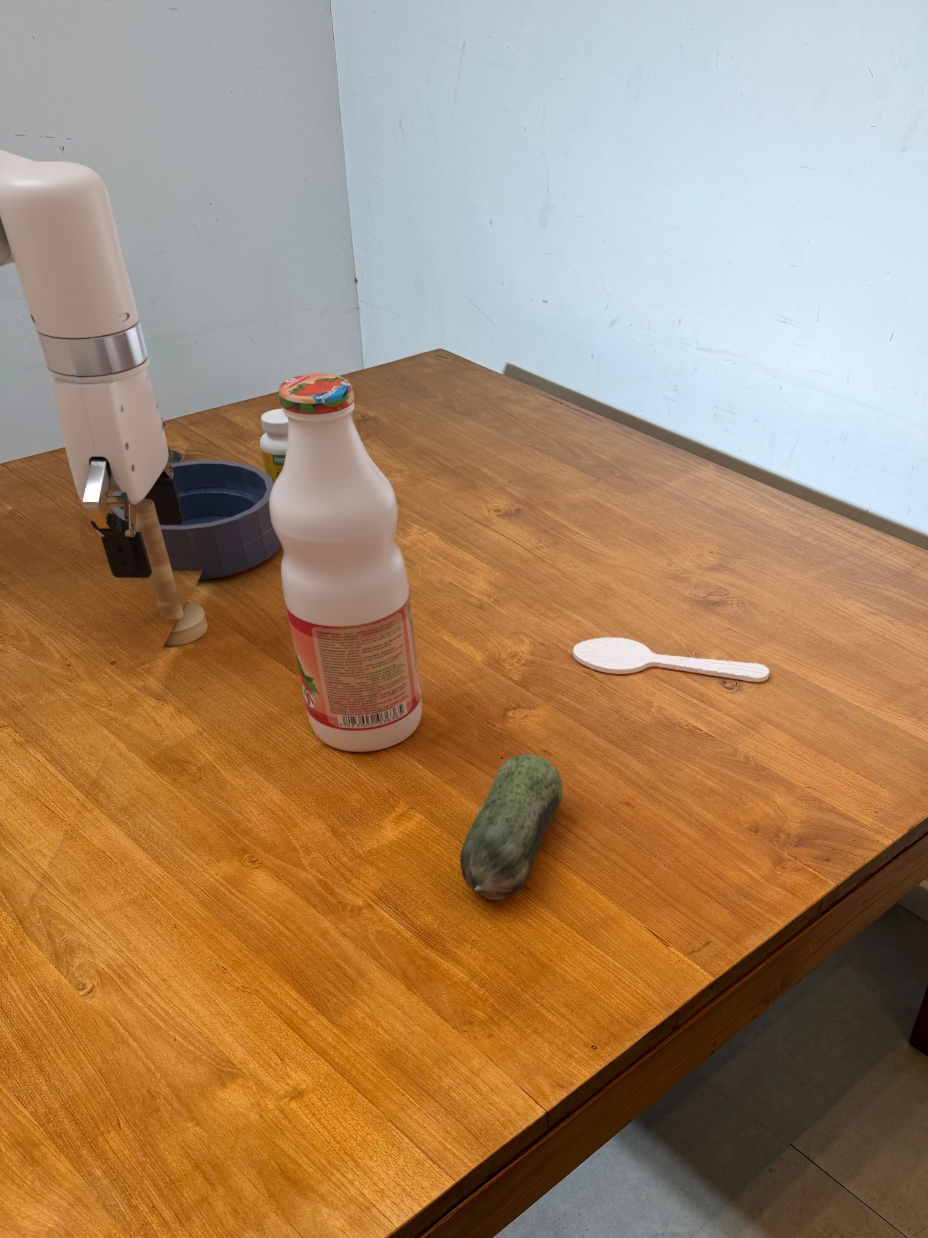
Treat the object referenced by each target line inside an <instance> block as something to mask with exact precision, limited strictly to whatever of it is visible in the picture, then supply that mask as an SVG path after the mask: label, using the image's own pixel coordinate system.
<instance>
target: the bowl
mask: <svg viewBox="0 0 928 1238" xmlns="http://www.w3.org/2000/svg"><path fill="white" fill-rule="evenodd" d="M170 465H171V466H172V468H173V478H172V479H168V480H174V482H175V486H176V490H177V494H178V498H179V502H180V506H181V510H182V514H183V518H184V520H183V522H182V523H181V524H179V525H175V524H160V527H161V531H162V535H163V539H164V542H165V546H166V550H167V553H168V557H169V561H170V565H171V568H172V571H202V572H201V574H200V576H199V578H198V581H200V580H211V579H219V578H222V577H228V576H231V575H234V574H237V573H240V572H241V573H242V572H244V571H248V570H250V569H251V568H254V567H256V566H258V565H259V564H261V563H263V562H265V561H268V560H269V559H270V558H271V557H272V556H273V555H274V554H276V552H278V551H279V550H280V548H281V546H282V544H281V543H280V541H279V539H278V537H277V535H276V533H275V530H274V528H273V525H272V522H271V517H270V510H269V499H270V494H271V490H272V488H273V485H274V483H273V479H272V478H271V477H270V476H268V475H267V474H266V473H265V470H262V469H260V468H257V467H255V466H252V465H249V464H246V463H242V462H235V461H229V460H216V459H215V460H211V459H207V460H206V459H201V460H200V459H199V460H191V461H184V462H181V463H174V464H170ZM111 496H125V492H121V491H113V493H112V495H111ZM110 510H111V513H115V514H116V515H117V516H119V517H120V518H121V519H122V520H123V507H112V506H110Z"/></svg>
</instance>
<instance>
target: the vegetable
mask: <svg viewBox="0 0 928 1238" xmlns="http://www.w3.org/2000/svg"><path fill="white" fill-rule="evenodd" d="M494 777H495V778H494V779H493V782H492V785H491V787H490V790H489V792H488V794H487V796H485V797H486V798H485V800H484V801H483V803H482V805H481V807H480V809H479V811H478V813H477V814H476V817H475V819H474V820H473V822H472V824H471V826H470V828H469V830H468V832H467V834H466V836H465V839H464V842H463V845H462V847H461V850H460V851H461V852H460V859H459V860H460V861H459V862H460V863H459V864H460V871H461V875H462V877H463V880H464V881H465V883H466V884H467V886H469V888H471V890H473V891H474V892H475V893H477V894H478V895H479V896H481V897H482V898H485V899H489V900H493V901H494V900H495V901H497V900H499V901H500V900H503V899H506V898H509V897H511V896H513V895H514V894H517V893H518V891H519V890H520V889H521V888H522V887H523V886H524V884H525V882H526V880H527V878H528V876H529V873H530V870H531V868H532V865H533V864H534V862H535V858H536V856H537V853H538V851H539V849H540V846H541V844H542V841H543V839H544V837H545V834H546V832H547V831H548V828H549V825H550V823H551V821H552V819H553V817H554V815H555V813H556V812H557V810H558V808H559V806H560V805H561V802H562V799H563V795H564V788H563V787H564V786H563V781H562V777H561V775H560V773H559V771H558V769H557V768H556V767H555V765H554V764H553V763H552V762H551V761H549V760H548V759H546V758H545V757H543V756H541V755H537V754H532V753H526V754H518V755H515V756H512V757H510V758H509V759H507V760H505V761H504V762H503V763H502V764H501V765H500V767H499V768H498V770H497V772H496V775H495V776H494Z"/></svg>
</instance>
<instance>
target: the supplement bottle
mask: <svg viewBox="0 0 928 1238" xmlns="http://www.w3.org/2000/svg"><path fill="white" fill-rule="evenodd" d="M260 420H261V428H262V430H263V431H264V434H262V435H261V438H260V440H259V447H260V448H259V449H260V453H261V458H262V461H263V467H264V472H265V473H266V474H267V475H268V476H270V477H271V478H272V479H273V483H275V481H276V479H277V478H278V476H279V475H280V473H281V471H282V469H283V466H284V462H285V457H286V450H287V443H288V430H289V424H288V417H287V416H285V414H284V413H283V411H282V408H277V409H272V410H268V411H266V412H264V413H263V414H262V415H261V416H260Z"/></svg>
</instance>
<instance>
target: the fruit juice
mask: <svg viewBox="0 0 928 1238" xmlns="http://www.w3.org/2000/svg"><path fill="white" fill-rule="evenodd" d="M350 382H351V381H349V380H348V379H347V378H345V377H343V376H340V375H336V374H331V373H308V374H307V373H306V374H301V375H297V376H294V377H291V378H288V379H286V380H285V381H283V382H282V383H281V384H280V386H279V388H278V397H279V399H278V400H279V404H280V406H281V409H282V411H283V413H284V414H285V416H287V417H288V424H289V430H288V443H287V450H286V457H285V462H284V466H283V469H282V471H281V473H280V475H279V476H278V478H277V479H276V481H275V483H274V485H273V488H272V490H271V494H270V499H269V510H270V517H271V522H272V525H273V528H274V530H275V533H276V535H277V537H278V539H279V541H280V543H281V546H282V551H283V555H282V559H281V563H280V580H281V587H282V595H283V600H284V604H285V609H286V612H287V618H288V623H289V628H290V632H291V633H290V634H291V638H292V643H293V649H294V654H295V657H296V658H295V660H296V664H297V669H298V673H299V674H298V675H299V679H300V683H301V684H300V685H301V689H302V694H303V698H304V703H305V708H306V714H307V718H308V722H309V724H310V727H311V729H312V731H313V733H314V735H315V736H316V737H317V738H318V739H319V740H320V741H321V742H323V743H324V744H325V745H327V746H329V747H331V748H334V749H337V750H341V751H345V752H354V753H355V752H357V753H363V752H364V753H365V752H367V753H368V752H373V751H379V750H384V749H387V748H391V747H393V746H395V745H398V744H400V743H401V742H403V741H405V740H406V739H407V738H409V737H411V736H412V735H413V734H414V732H415V731H416V730H417V728H418V727H419V725H420V723H421V720H422V715H423V700H422V699H423V698H422V691H421V690H422V689H421V681H420V673H419V664H418V657H417V656H418V655H417V646H416V638H415V637H416V636H415V628H414V620H413V613H412V604H411V592H410V584H409V583H410V582H409V577H408V571H407V567H406V561H405V558H404V556H403V553H402V550H401V549H400V547H399V545H398V544H397V541H396V533H397V527H398V518H399V507H398V502H397V501H398V500H397V496H396V493H395V490H394V488H393V485H392V483H391V481H389V478H388V477H387V476H386V475H385V474H384V473H383V472H382V470H380V468H379V467H378V466H377V464H375V462H374V460H373V459H372V457H371V456H370V455H369V453H368V451H367V449H366V448H365V446H364V443H363V441H362V439H361V437H360V434H359V432H358V430H357V427H356V425H355V421H354V419H353V415H352V413H353V412H354V409H355V394H354V390H353V387H352V384H351V383H350Z"/></svg>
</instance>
